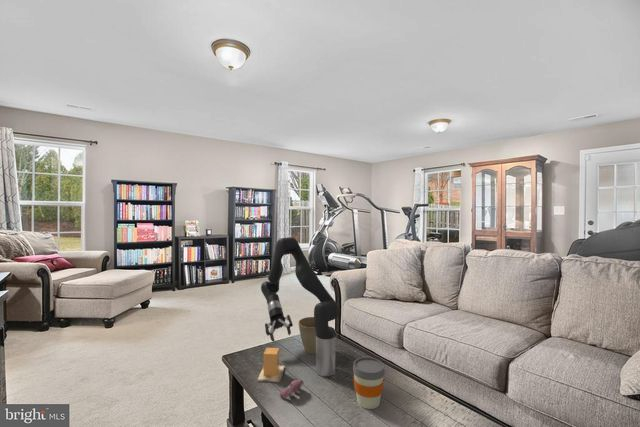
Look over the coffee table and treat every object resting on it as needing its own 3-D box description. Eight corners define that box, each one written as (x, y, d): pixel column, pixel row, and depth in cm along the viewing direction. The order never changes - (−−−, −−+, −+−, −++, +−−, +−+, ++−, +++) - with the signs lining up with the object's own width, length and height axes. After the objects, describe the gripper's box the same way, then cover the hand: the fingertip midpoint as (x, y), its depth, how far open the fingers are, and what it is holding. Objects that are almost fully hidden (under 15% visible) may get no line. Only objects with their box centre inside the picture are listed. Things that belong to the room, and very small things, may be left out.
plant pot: (297, 345, 170) (297, 317, 170) (323, 344, 171) (324, 316, 171) (298, 358, 155) (299, 327, 155) (327, 357, 157) (327, 326, 156)
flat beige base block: (284, 367, 146) (284, 355, 146) (279, 382, 134) (279, 368, 134) (264, 367, 146) (264, 354, 146) (257, 381, 134) (257, 368, 134)
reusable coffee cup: (351, 391, 127) (351, 356, 127) (381, 392, 127) (381, 357, 127) (354, 411, 115) (354, 372, 115) (387, 412, 114) (387, 373, 114)
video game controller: (285, 404, 121) (291, 392, 119) (278, 395, 124) (283, 383, 122) (301, 392, 129) (307, 380, 127) (294, 384, 131) (299, 372, 129)
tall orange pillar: (279, 368, 143) (279, 348, 143) (276, 376, 137) (276, 354, 137) (266, 368, 143) (266, 347, 143) (263, 375, 137) (263, 353, 137)
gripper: (261, 312, 163) (266, 339, 151) (285, 302, 165) (292, 329, 153) (265, 318, 168) (270, 346, 156) (289, 309, 170) (296, 335, 158)
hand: (281, 337), depth 155 cm, fingers open, 8 cm apart
